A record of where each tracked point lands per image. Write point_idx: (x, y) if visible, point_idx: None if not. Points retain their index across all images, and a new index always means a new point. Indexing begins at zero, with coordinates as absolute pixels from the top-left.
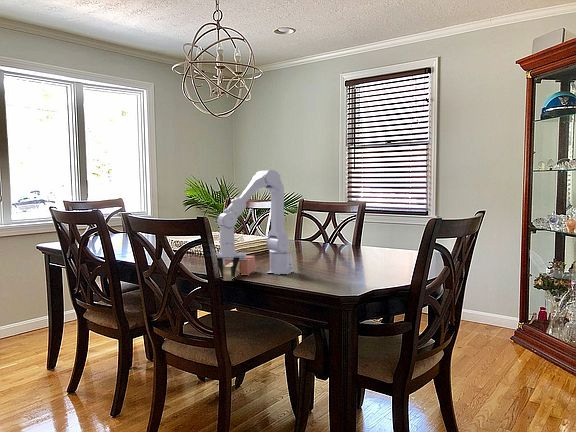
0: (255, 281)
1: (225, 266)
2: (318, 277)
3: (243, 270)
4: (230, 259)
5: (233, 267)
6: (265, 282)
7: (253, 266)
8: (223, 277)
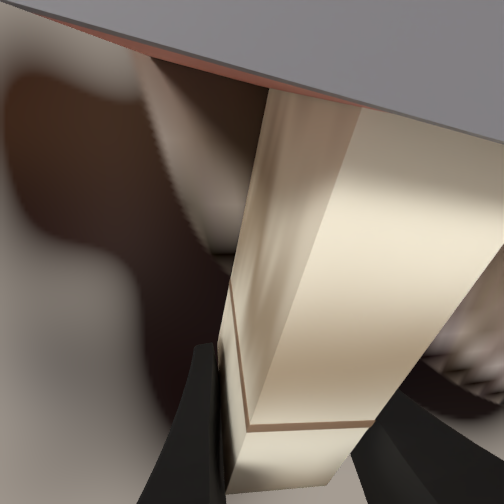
0: (452, 337)
1: (258, 474)
2: None
3: None
4: (412, 113)
5: (360, 469)
6: (498, 351)
7: None
8: (219, 367)
